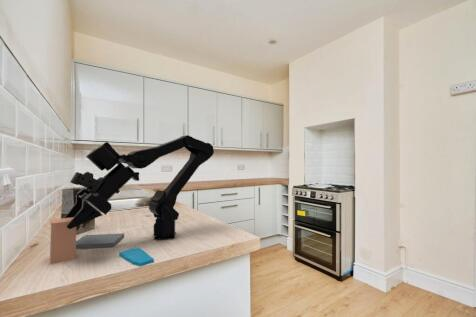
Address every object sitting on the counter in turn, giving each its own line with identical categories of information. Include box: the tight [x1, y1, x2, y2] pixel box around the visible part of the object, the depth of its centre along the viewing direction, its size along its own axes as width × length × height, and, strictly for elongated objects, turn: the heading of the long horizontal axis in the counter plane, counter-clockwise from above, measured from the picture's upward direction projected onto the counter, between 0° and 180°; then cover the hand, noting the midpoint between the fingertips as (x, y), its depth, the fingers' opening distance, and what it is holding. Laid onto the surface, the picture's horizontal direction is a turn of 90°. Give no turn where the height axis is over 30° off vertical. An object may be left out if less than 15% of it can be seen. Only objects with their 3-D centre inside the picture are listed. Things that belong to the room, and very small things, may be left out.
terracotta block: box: [49, 217, 77, 265], centre depth 60 cm, size 5×5×10 cm
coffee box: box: [60, 186, 96, 235], centre depth 86 cm, size 9×6×16 cm
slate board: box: [76, 232, 125, 250], centre depth 73 cm, size 12×10×1 cm
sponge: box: [118, 247, 155, 267], centre depth 60 cm, size 2×12×6 cm
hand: (66, 224), depth 61 cm, fingers open, 9 cm apart
